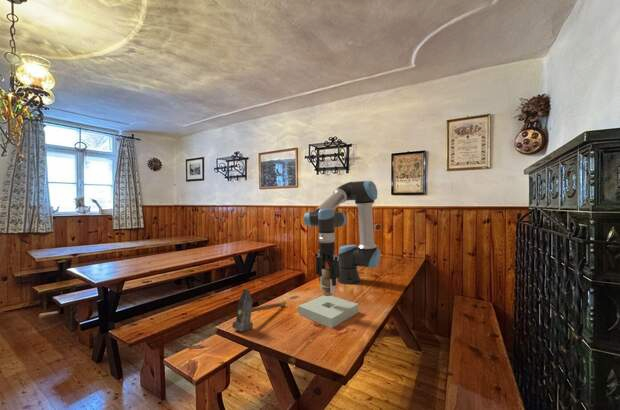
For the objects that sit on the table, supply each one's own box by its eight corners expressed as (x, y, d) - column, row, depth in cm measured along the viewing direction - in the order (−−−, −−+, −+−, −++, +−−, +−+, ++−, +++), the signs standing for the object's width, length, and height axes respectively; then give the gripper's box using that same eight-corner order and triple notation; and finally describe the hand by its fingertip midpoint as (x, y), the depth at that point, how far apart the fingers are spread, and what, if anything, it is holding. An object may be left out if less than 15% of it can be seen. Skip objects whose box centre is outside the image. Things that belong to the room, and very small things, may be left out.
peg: (327, 292, 125) (326, 267, 125) (335, 294, 121) (335, 269, 121) (319, 294, 121) (319, 269, 121) (328, 297, 117) (328, 271, 117)
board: (326, 301, 135) (325, 294, 135) (358, 312, 121) (358, 303, 121) (298, 314, 121) (298, 305, 121) (331, 328, 107) (331, 318, 107)
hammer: (290, 286, 131) (247, 291, 107) (286, 319, 129) (241, 331, 104) (281, 284, 135) (237, 288, 110) (277, 316, 132) (231, 328, 107)
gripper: (307, 240, 124) (308, 288, 125) (337, 244, 112) (338, 297, 112) (317, 239, 130) (318, 285, 130) (347, 242, 117) (348, 293, 117)
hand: (327, 290), depth 121 cm, fingers closed on peg, 5 cm apart
